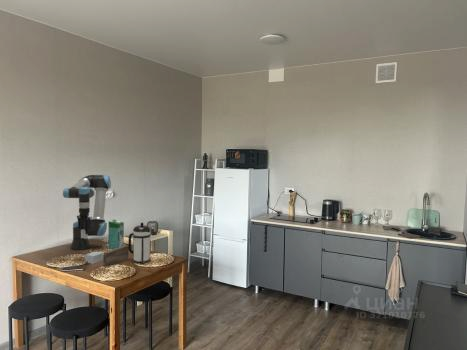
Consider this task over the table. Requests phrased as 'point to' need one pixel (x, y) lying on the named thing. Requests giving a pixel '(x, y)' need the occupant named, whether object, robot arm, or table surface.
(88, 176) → the robot arm
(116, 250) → the board
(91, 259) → the block
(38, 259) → the table surface
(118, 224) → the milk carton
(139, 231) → the coffee press
